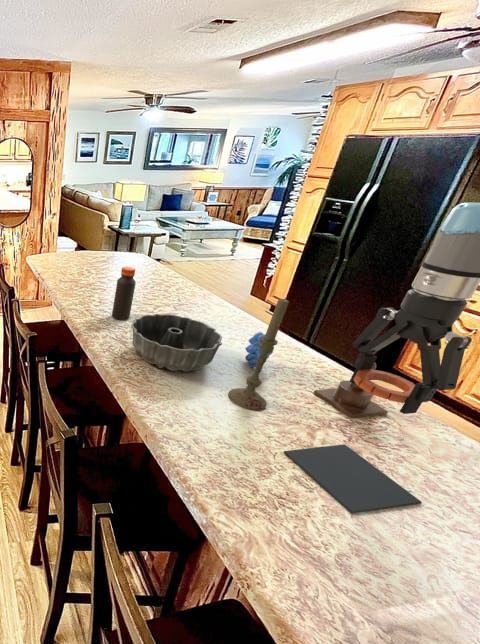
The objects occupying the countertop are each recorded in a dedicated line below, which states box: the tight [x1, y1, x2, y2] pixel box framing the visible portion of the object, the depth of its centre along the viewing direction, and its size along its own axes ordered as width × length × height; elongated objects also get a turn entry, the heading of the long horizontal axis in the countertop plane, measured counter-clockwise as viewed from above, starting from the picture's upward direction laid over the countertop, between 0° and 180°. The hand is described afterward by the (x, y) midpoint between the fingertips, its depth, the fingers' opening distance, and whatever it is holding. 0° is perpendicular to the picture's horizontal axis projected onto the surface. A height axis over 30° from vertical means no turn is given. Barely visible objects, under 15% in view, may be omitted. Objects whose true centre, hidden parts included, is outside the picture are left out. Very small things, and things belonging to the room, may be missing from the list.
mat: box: [283, 444, 422, 514], centre depth 81 cm, size 16×16×1 cm
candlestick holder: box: [227, 297, 290, 411], centre depth 98 cm, size 9×9×30 cm
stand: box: [313, 361, 389, 419], centre depth 102 cm, size 11×11×14 cm
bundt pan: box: [130, 313, 223, 373], centre depth 123 cm, size 26×26×10 cm
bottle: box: [111, 266, 136, 321], centre depth 149 cm, size 7×7×20 cm
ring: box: [354, 369, 416, 404], centre depth 78 cm, size 10×10×2 cm
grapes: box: [244, 331, 274, 369], centre depth 118 cm, size 12×7×12 cm, turn 166°
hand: (380, 396), depth 79 cm, fingers closed on ring, 10 cm apart
